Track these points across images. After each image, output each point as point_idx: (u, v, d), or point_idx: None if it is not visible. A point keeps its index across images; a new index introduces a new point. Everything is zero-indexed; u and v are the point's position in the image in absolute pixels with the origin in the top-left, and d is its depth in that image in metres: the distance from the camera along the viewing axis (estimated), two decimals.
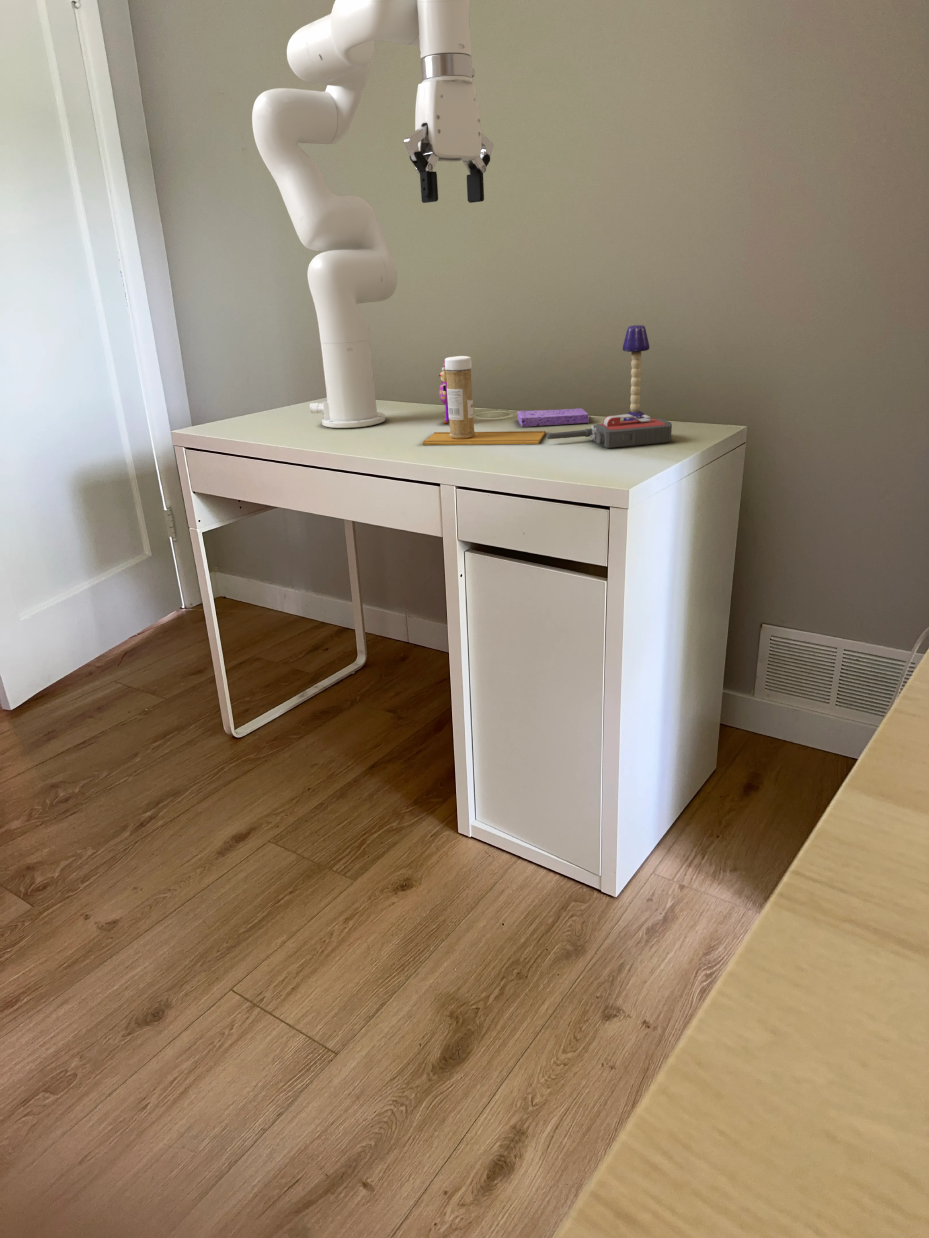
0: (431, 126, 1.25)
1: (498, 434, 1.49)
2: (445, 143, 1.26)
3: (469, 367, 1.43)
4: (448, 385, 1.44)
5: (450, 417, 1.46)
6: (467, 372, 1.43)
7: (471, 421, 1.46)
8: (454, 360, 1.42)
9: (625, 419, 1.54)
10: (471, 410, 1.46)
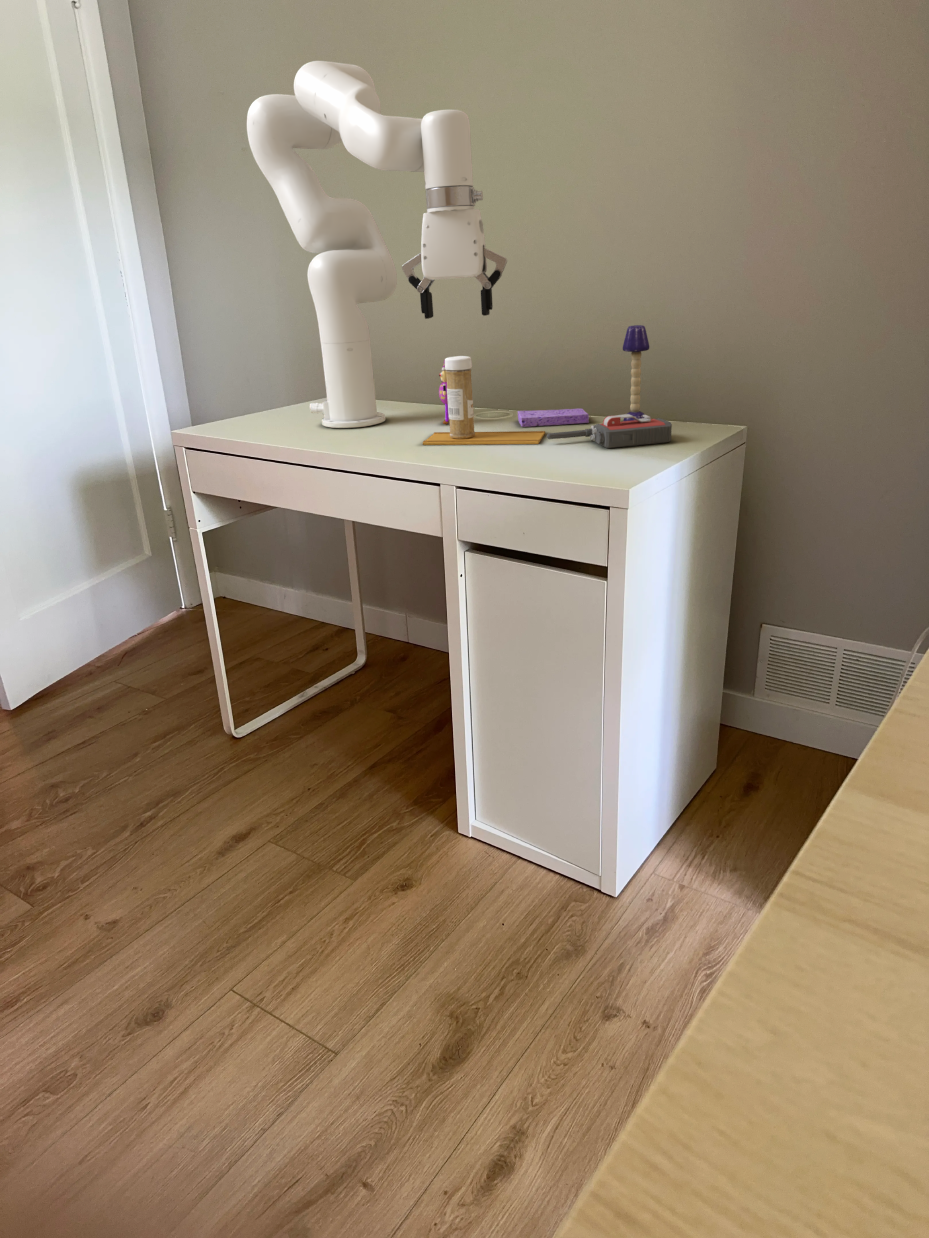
0: None
1: (498, 434, 1.49)
2: (433, 267, 1.36)
3: (469, 367, 1.43)
4: (448, 385, 1.44)
5: (450, 417, 1.46)
6: (467, 372, 1.43)
7: (471, 421, 1.46)
8: (454, 360, 1.42)
9: (625, 419, 1.54)
10: (471, 410, 1.46)
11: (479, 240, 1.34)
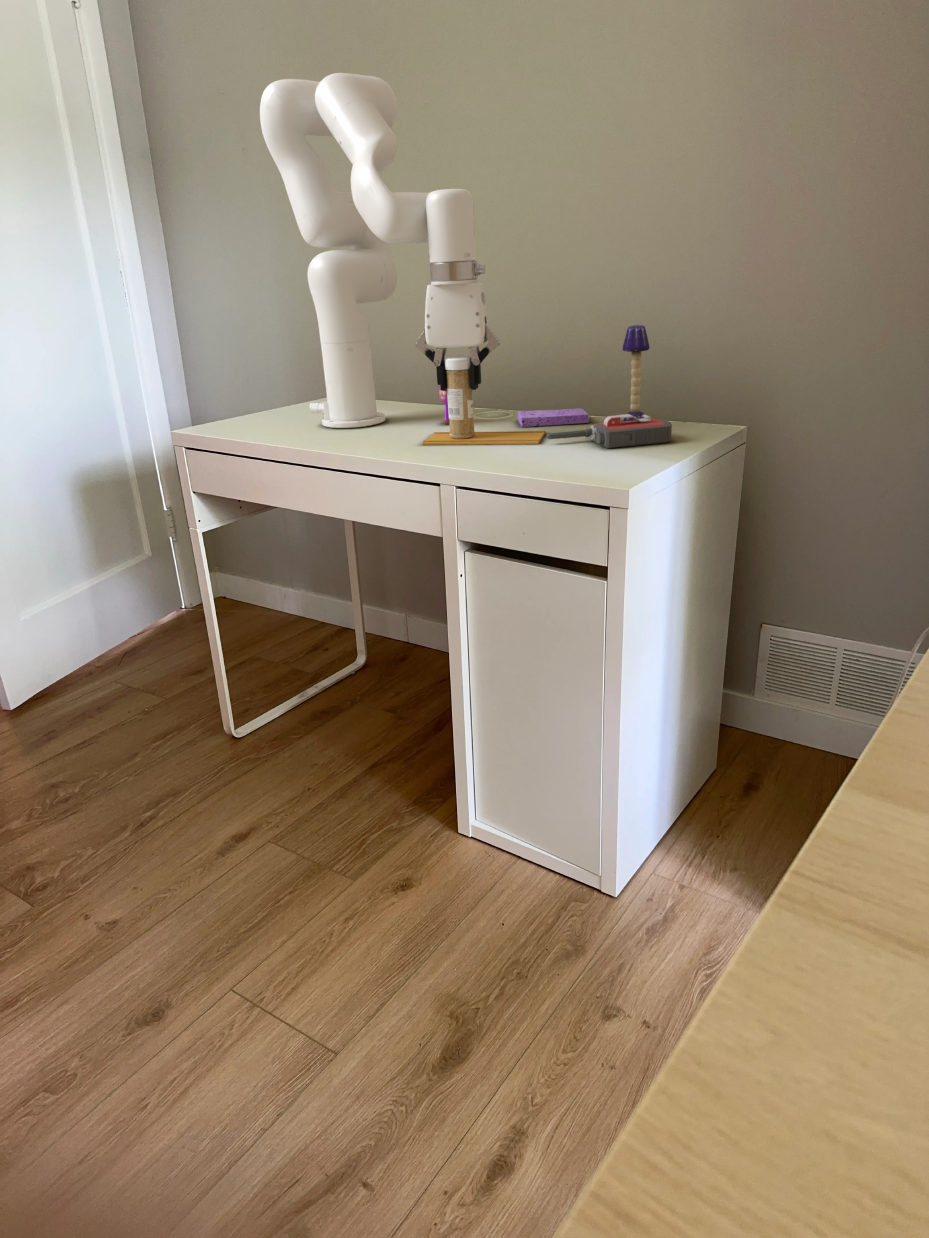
0: (425, 322, 1.41)
1: (498, 434, 1.49)
2: (436, 336, 1.41)
3: (469, 367, 1.43)
4: (448, 385, 1.44)
5: (450, 417, 1.46)
6: (467, 372, 1.43)
7: (471, 421, 1.46)
8: (454, 360, 1.42)
9: (625, 419, 1.54)
10: (471, 410, 1.46)
11: (481, 312, 1.38)
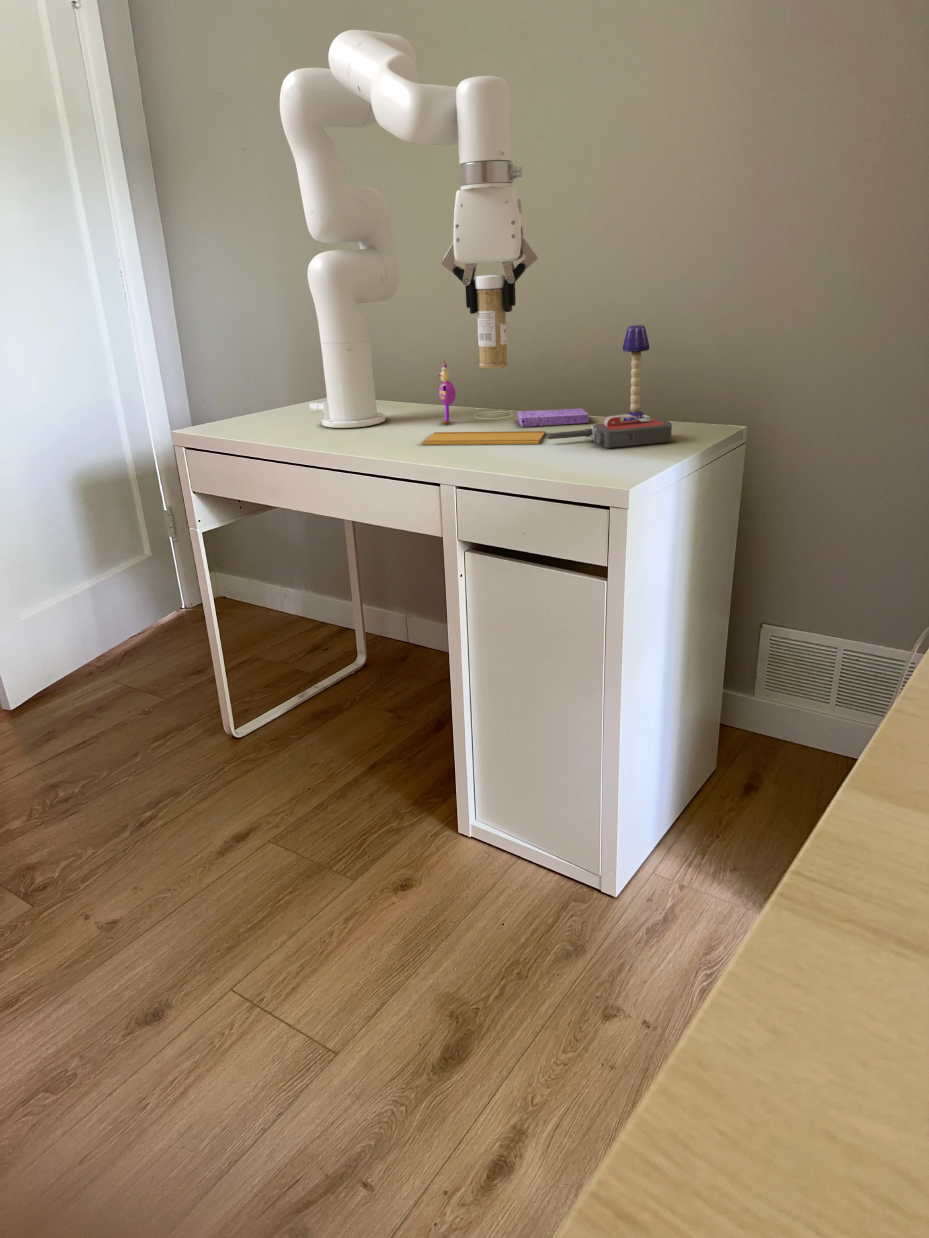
0: (453, 235, 1.25)
1: (498, 434, 1.49)
2: (466, 250, 1.25)
3: None
4: (479, 307, 1.29)
5: (480, 344, 1.31)
6: (500, 291, 1.27)
7: (504, 348, 1.31)
8: (486, 277, 1.26)
9: (625, 419, 1.54)
10: (504, 336, 1.30)
11: (517, 221, 1.22)
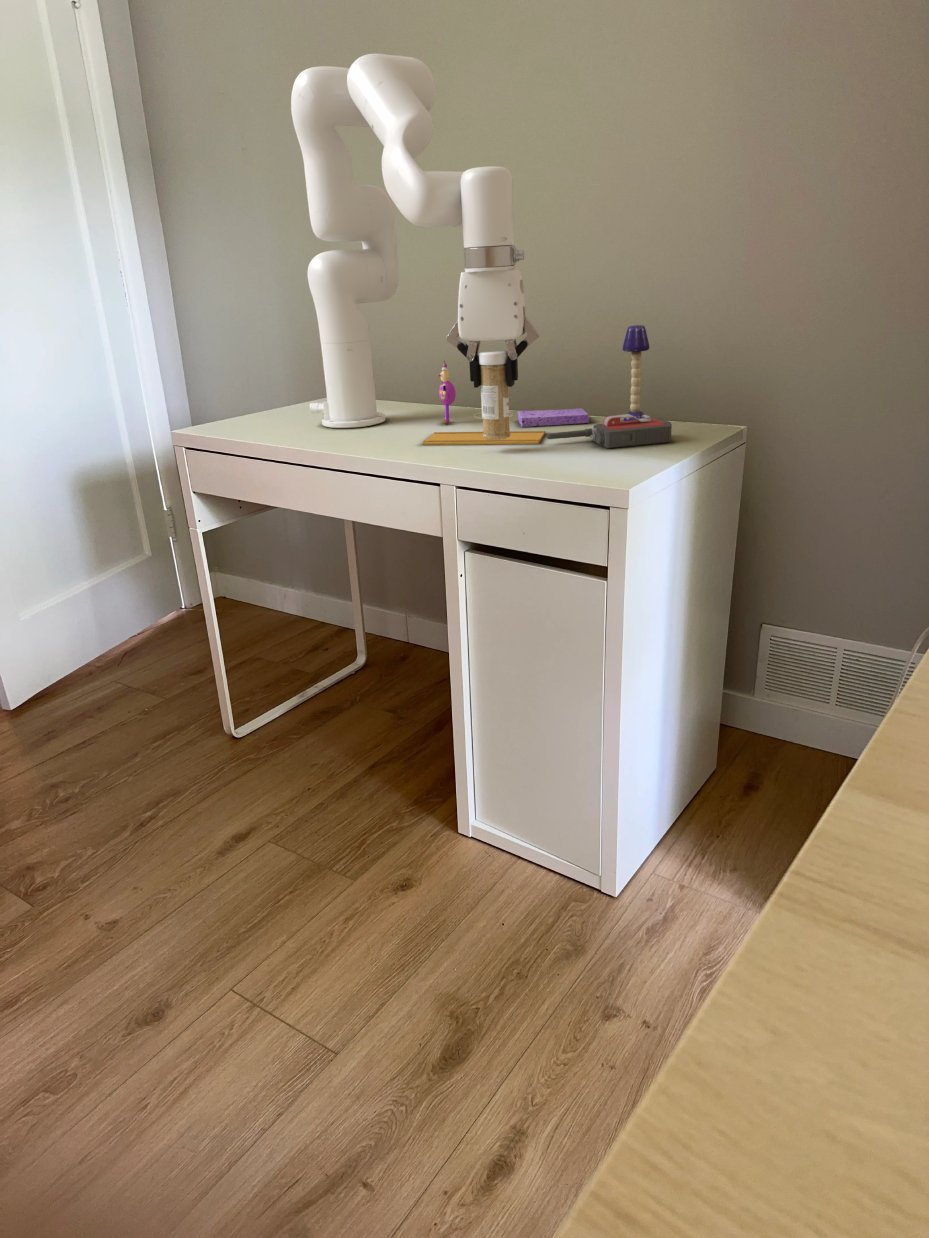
0: (458, 313, 1.30)
1: None
2: (470, 329, 1.29)
3: (505, 362, 1.31)
4: (482, 381, 1.33)
5: (484, 416, 1.35)
6: (503, 367, 1.32)
7: (507, 420, 1.35)
8: (489, 354, 1.30)
9: (625, 419, 1.54)
10: (507, 408, 1.34)
11: (520, 302, 1.27)
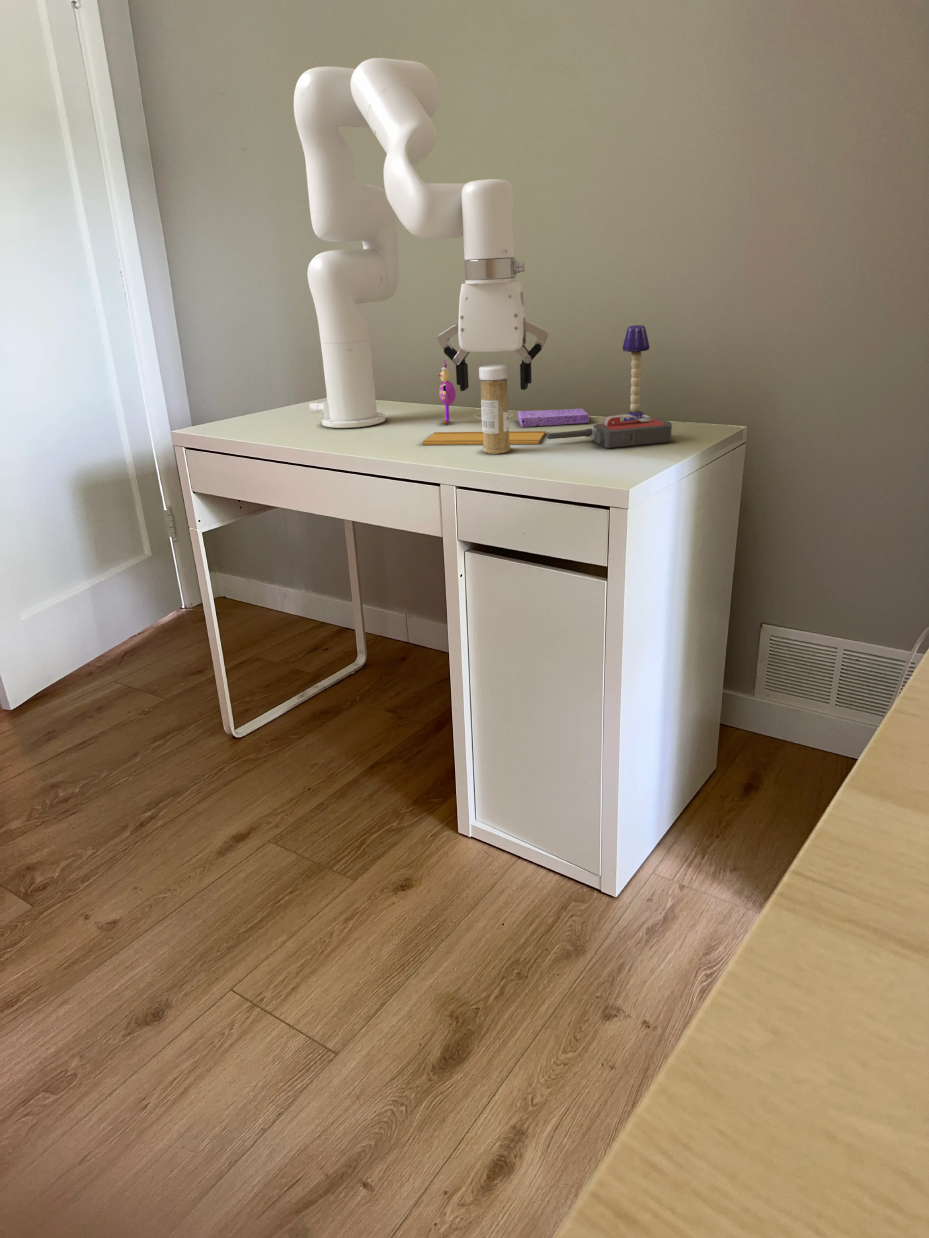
0: None
1: None
2: (470, 340, 1.30)
3: (505, 377, 1.32)
4: (482, 396, 1.34)
5: (484, 430, 1.36)
6: (503, 382, 1.32)
7: (507, 435, 1.36)
8: (489, 369, 1.31)
9: (625, 419, 1.54)
10: (507, 423, 1.35)
11: (520, 313, 1.27)
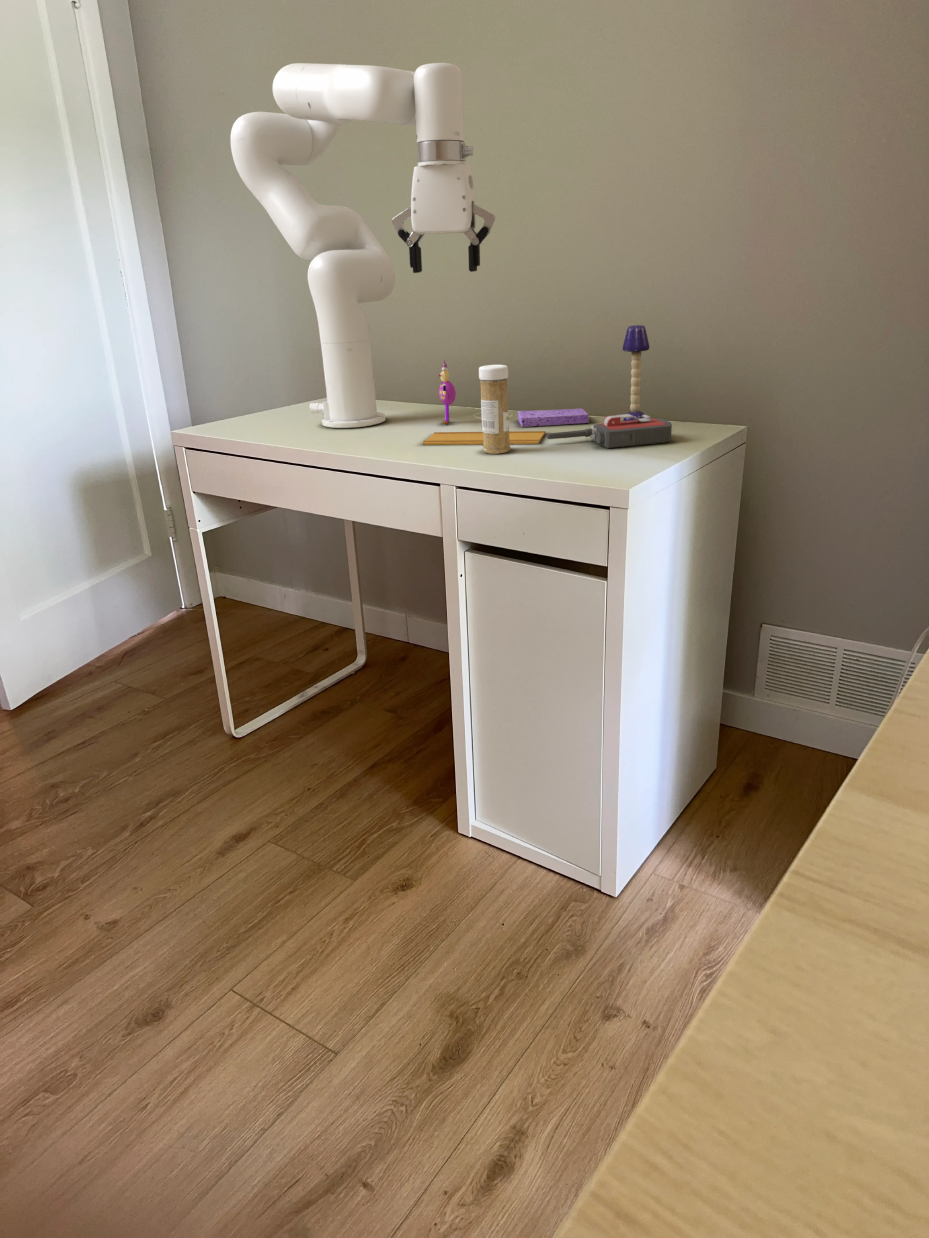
0: (411, 207, 1.38)
1: None
2: (422, 221, 1.38)
3: (505, 377, 1.32)
4: (482, 396, 1.34)
5: (484, 430, 1.36)
6: (503, 382, 1.32)
7: (507, 435, 1.36)
8: (490, 369, 1.31)
9: (625, 419, 1.54)
10: (507, 423, 1.35)
11: (468, 196, 1.35)
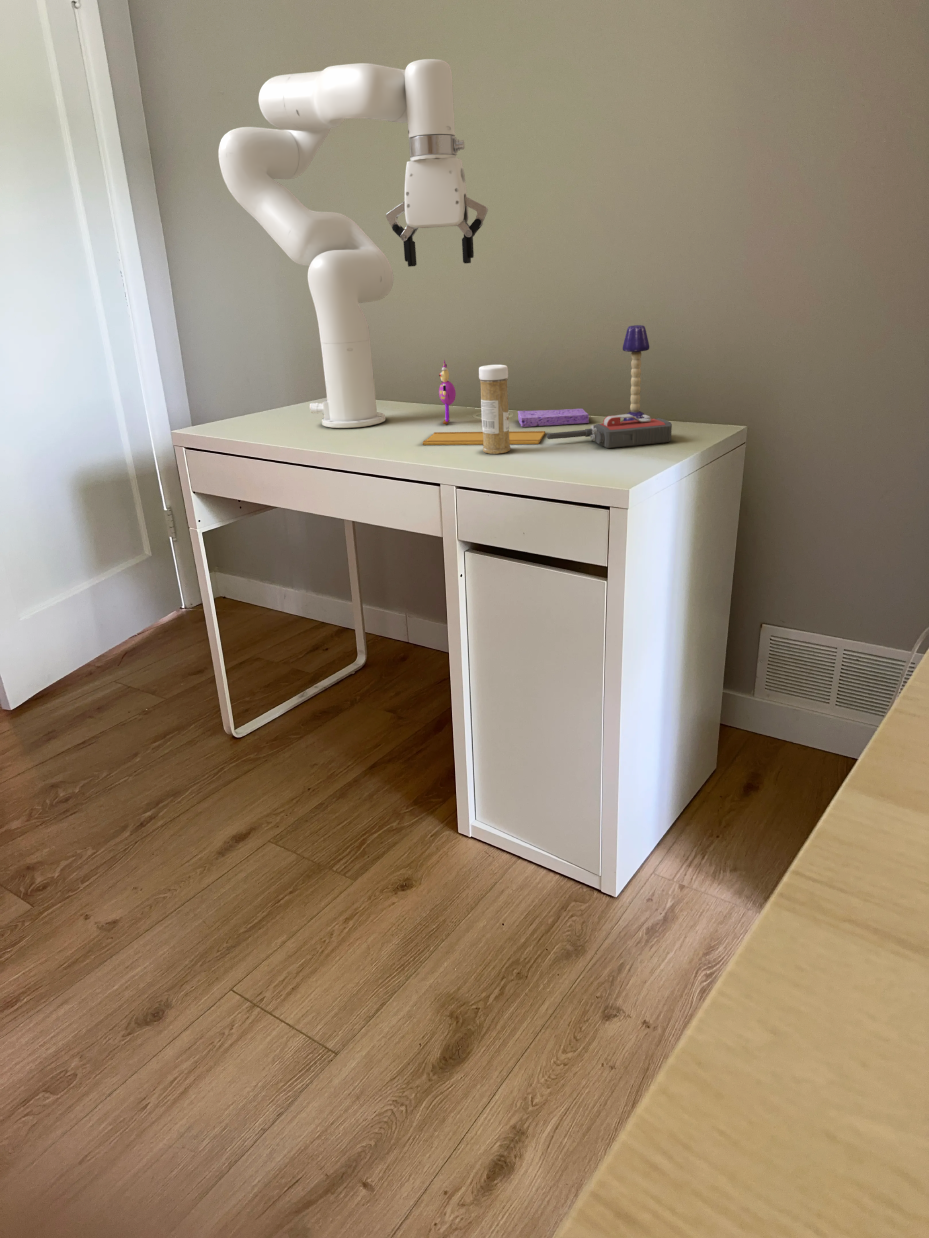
0: (404, 201, 1.41)
1: None
2: (415, 215, 1.41)
3: (505, 377, 1.32)
4: (482, 396, 1.34)
5: (484, 430, 1.36)
6: (503, 382, 1.32)
7: (507, 435, 1.36)
8: (490, 369, 1.31)
9: (625, 419, 1.54)
10: (507, 423, 1.35)
11: (460, 188, 1.38)
